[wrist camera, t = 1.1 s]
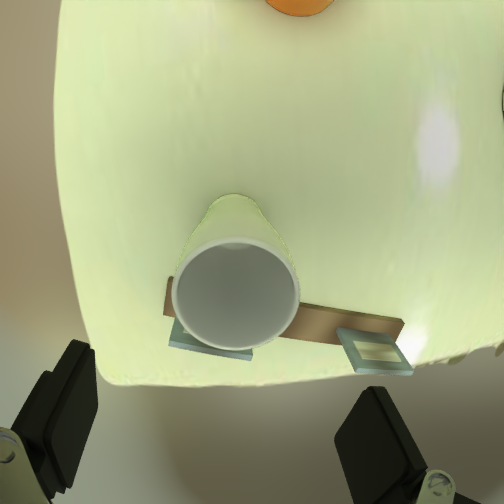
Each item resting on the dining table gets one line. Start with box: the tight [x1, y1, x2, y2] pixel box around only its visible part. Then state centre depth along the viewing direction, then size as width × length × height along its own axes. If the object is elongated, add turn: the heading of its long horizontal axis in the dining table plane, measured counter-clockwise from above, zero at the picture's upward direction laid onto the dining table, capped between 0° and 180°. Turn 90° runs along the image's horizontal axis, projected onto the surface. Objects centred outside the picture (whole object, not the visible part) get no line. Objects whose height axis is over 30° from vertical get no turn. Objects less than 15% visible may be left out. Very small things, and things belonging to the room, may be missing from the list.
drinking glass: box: [171, 194, 300, 350], centre depth 23 cm, size 7×7×15 cm
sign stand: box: [163, 277, 414, 375], centre depth 31 cm, size 27×4×8 cm, turn 76°
